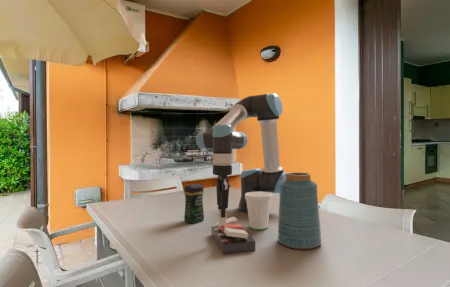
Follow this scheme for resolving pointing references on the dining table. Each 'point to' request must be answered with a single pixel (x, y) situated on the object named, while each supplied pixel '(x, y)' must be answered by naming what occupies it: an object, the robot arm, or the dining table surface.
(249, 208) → the cup
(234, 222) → the rocker
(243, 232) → the rocker
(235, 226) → the rocker
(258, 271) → the dining table surface
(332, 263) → the dining table surface
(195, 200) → the coffee jar
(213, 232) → the rocker switch panel
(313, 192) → the vase
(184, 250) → the dining table surface
